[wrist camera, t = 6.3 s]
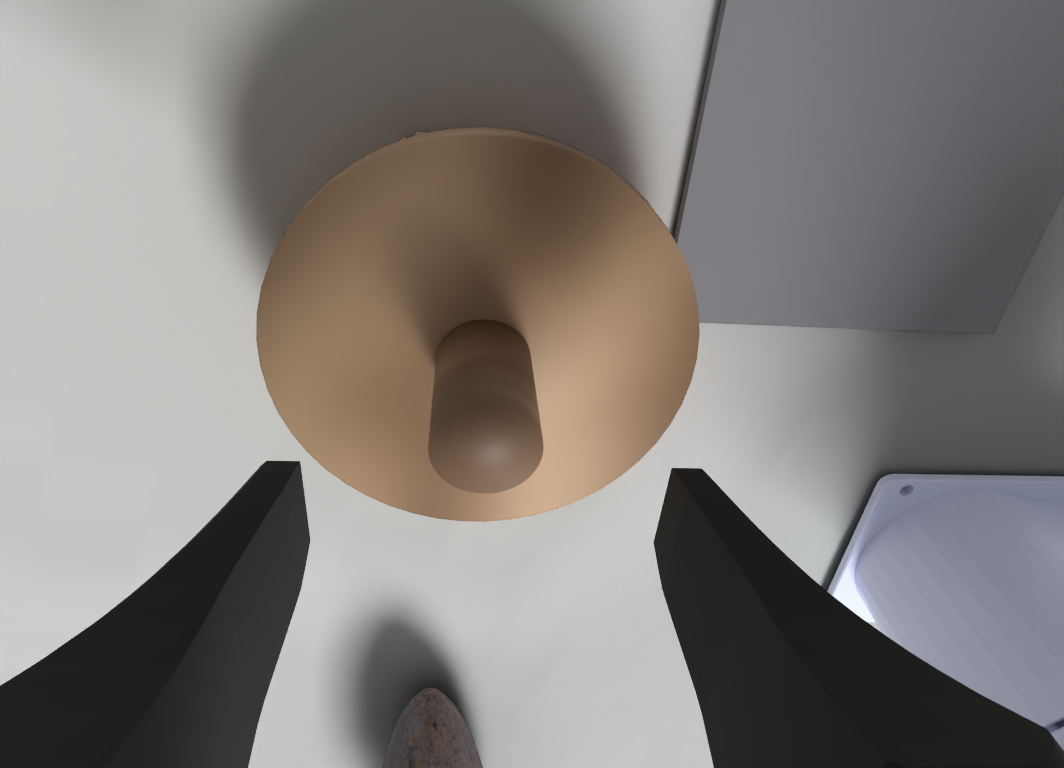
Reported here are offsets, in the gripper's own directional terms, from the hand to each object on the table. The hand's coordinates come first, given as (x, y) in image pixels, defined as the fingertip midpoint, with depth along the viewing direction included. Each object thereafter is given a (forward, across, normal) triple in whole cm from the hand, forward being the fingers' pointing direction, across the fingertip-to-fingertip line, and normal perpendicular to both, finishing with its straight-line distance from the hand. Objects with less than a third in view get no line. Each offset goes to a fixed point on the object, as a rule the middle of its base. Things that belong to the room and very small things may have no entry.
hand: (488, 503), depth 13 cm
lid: (+6, 0, 0) cm, 6 cm away
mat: (+9, -11, -6) cm, 15 cm away
